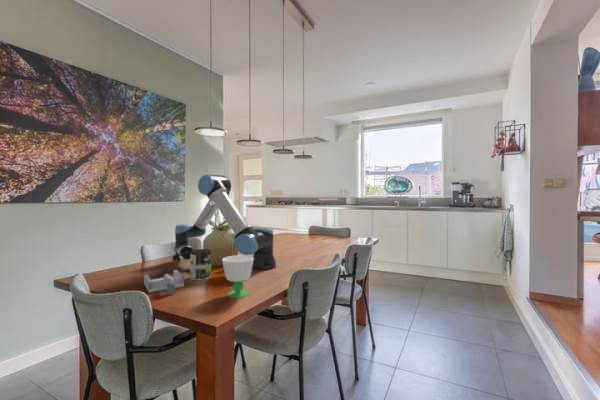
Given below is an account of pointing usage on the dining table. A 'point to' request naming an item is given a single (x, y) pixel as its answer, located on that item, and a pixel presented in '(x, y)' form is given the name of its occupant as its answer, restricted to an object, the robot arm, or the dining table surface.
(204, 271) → the coffee can
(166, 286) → the tray
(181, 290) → the dining table surface
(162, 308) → the dining table surface
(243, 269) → the cup
